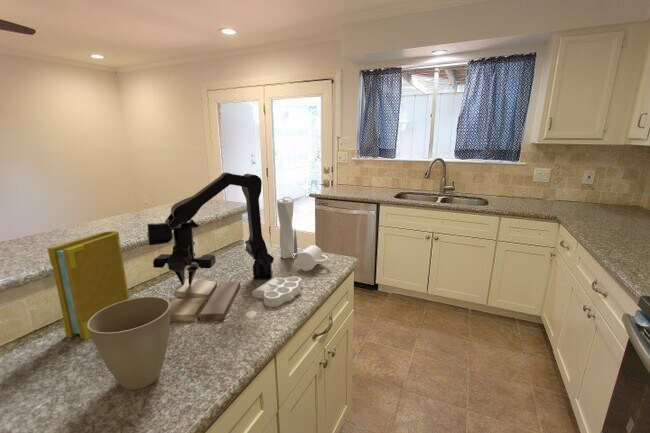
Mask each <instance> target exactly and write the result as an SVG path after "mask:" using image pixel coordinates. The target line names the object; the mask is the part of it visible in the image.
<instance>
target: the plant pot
mask: <svg viewBox="0 0 650 433" xmlns="http://www.w3.org/2000/svg"><path fill="white" fill-rule="evenodd" d="M170 322H171V321H170V302H169V300H168V299H167V298H164V297H161V296H154V295H153V296H151V295H150V296H139V297H134V298H133V297H132V298H129V299H128V300H124V301H121V302H118V303H115V304H113V305H110V306H108V307H106V308H104V309H102V310H100V311H99V312H97V313H96V314H94V315H93V316H92V317H91V318H90V319H89V321H88V323H87V327H88V330H89V332H90V335H91V337H90V338H91V339H92V342H93V344H94V346H95V348H96V351H97V352H98V354H99V356H100V358H101V359H102V362H103V363H104V365H105V366H106V368H107V369H108V371H109V372H110V373H111V375H112V376H113V377H114V379H115V380H116V381H117V382H118V383H119V384H120V386H121V387H122V388H123V389H124V390H127V391H137V390H141V389H143V388H146V387H148V386H150V385H151V384H153V383H155V381H157V379H158V378H159V377H160V375H161V372H162V370H163V365H164V361H165V358H166V352H167V349H168V342H169V337H170V336H169V334H170Z"/></svg>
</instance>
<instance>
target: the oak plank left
mask: <svg viewBox="0 0 650 433" xmlns="http://www.w3.org/2000/svg"><path fill="white" fill-rule="evenodd" d="M168 301H169V302H170V322H184V321H191V322H192V321H196V320H197V319H198V315H199V313H200V312H201V310H202V309H203V307H204V306H205V304H206V303H207V300H206V298H170V299H169V300H168Z"/></svg>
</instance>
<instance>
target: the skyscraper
mask: <svg viewBox="0 0 650 433" xmlns="http://www.w3.org/2000/svg"><path fill="white" fill-rule="evenodd" d="M294 202H295V201H294V199H293V198H292V197H290V196H284V197H283V198H280V199H277V200H276V204H277V205H276V206H277V215H278V222H279V250H280V254H279V255H280V258H281V257H293V256H294V255H293V253H297V252H298V241H297V240H298V239H297V230H293V217H294V207H295V206H294ZM292 255H293V256H292ZM296 256H298V254H297V255H295V256H294V257H296ZM296 258H297V257H296Z"/></svg>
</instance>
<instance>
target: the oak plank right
mask: <svg viewBox="0 0 650 433" xmlns="http://www.w3.org/2000/svg"><path fill="white" fill-rule="evenodd" d="M217 286H218V281H213V280H205V279H197V278H193V281H192V284H191V285H189V277H188V278H187V277H185V284H184V285H182V284H181V283H180V284H179V285H178V286H177V287H176V288H175V290H173V292H174V293H173V297H176V298H182V299H184V298H206V301H208V300H209V298H210V297H211V295H212V294H213V292H214V291H215V289H216V288H217Z"/></svg>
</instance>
